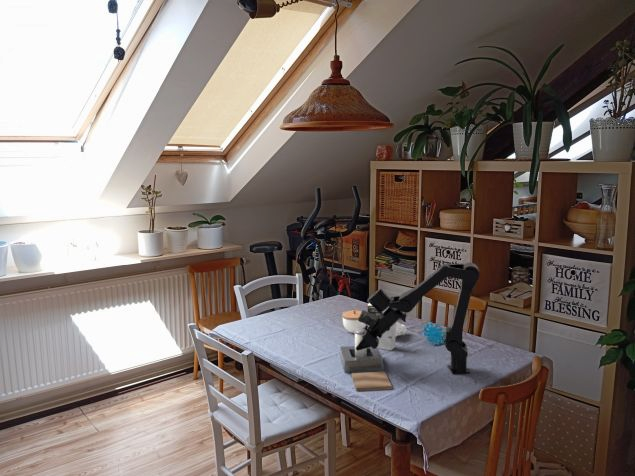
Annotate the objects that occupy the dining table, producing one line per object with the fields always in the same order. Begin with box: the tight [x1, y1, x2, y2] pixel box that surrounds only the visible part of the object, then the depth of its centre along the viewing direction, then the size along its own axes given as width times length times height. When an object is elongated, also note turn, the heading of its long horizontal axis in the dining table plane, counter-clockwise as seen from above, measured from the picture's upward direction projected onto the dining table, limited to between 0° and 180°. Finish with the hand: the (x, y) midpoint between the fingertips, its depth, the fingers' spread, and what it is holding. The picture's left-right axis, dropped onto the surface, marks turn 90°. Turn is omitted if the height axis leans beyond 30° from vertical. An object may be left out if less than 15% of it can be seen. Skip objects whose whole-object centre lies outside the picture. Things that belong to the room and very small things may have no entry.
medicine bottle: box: [367, 292, 386, 316], centre depth 255 cm, size 7×7×12 cm
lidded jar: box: [342, 309, 366, 334], centre depth 237 cm, size 11×11×9 cm
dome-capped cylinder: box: [354, 328, 367, 357], centre depth 200 cm, size 4×4×13 cm
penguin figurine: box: [395, 321, 407, 338], centre depth 229 cm, size 6×8×12 cm
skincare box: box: [377, 323, 396, 351], centre depth 216 cm, size 6×4×12 cm
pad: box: [351, 371, 393, 392], centre depth 186 cm, size 12×12×1 cm
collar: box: [339, 345, 384, 374], centre depth 201 cm, size 14×14×4 cm
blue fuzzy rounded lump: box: [422, 322, 446, 346], centre depth 223 cm, size 11×6×10 cm
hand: (357, 347), depth 200 cm, fingers closed on dome-capped cylinder, 4 cm apart
